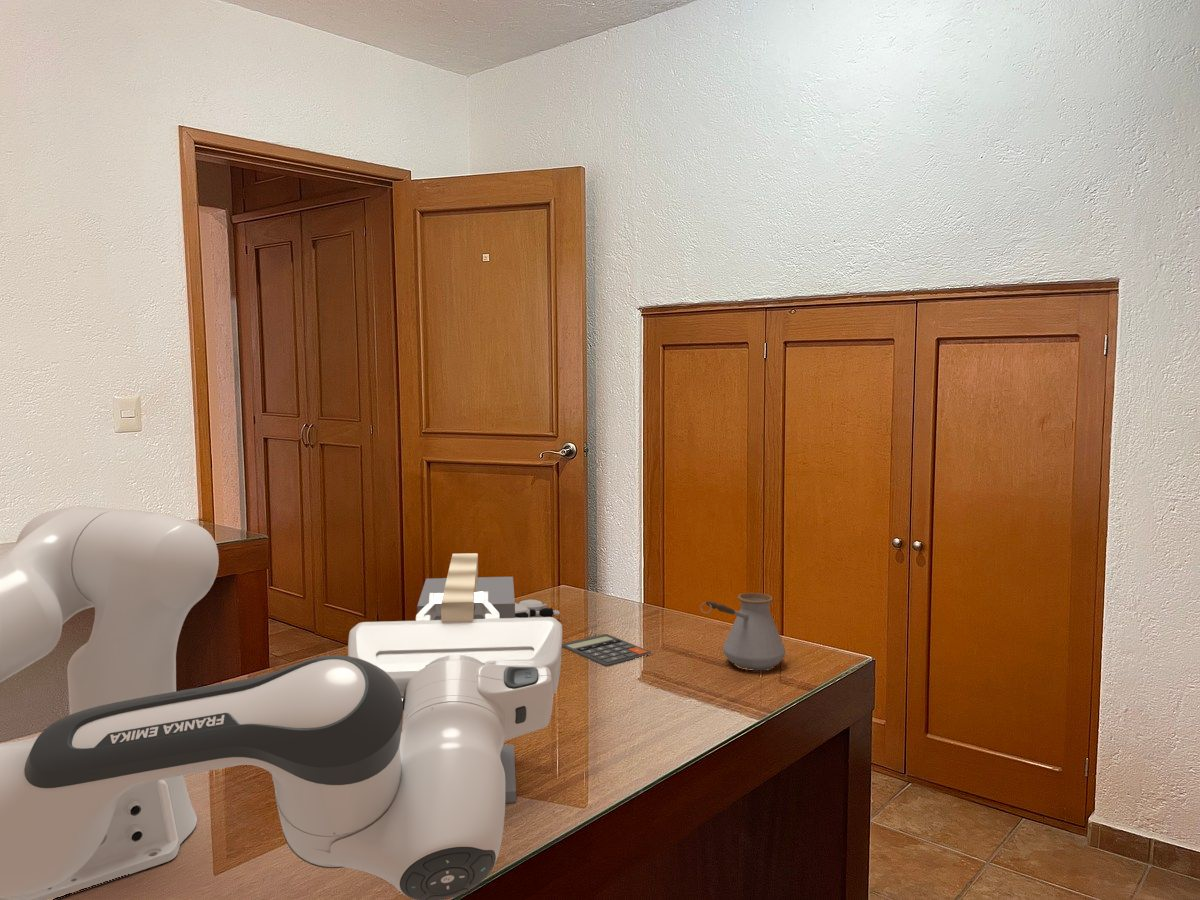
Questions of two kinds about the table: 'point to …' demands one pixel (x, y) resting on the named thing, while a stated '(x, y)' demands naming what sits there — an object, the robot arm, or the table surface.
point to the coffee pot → (752, 633)
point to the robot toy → (533, 609)
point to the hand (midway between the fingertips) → (459, 596)
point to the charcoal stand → (502, 602)
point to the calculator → (605, 649)
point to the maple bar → (460, 588)
